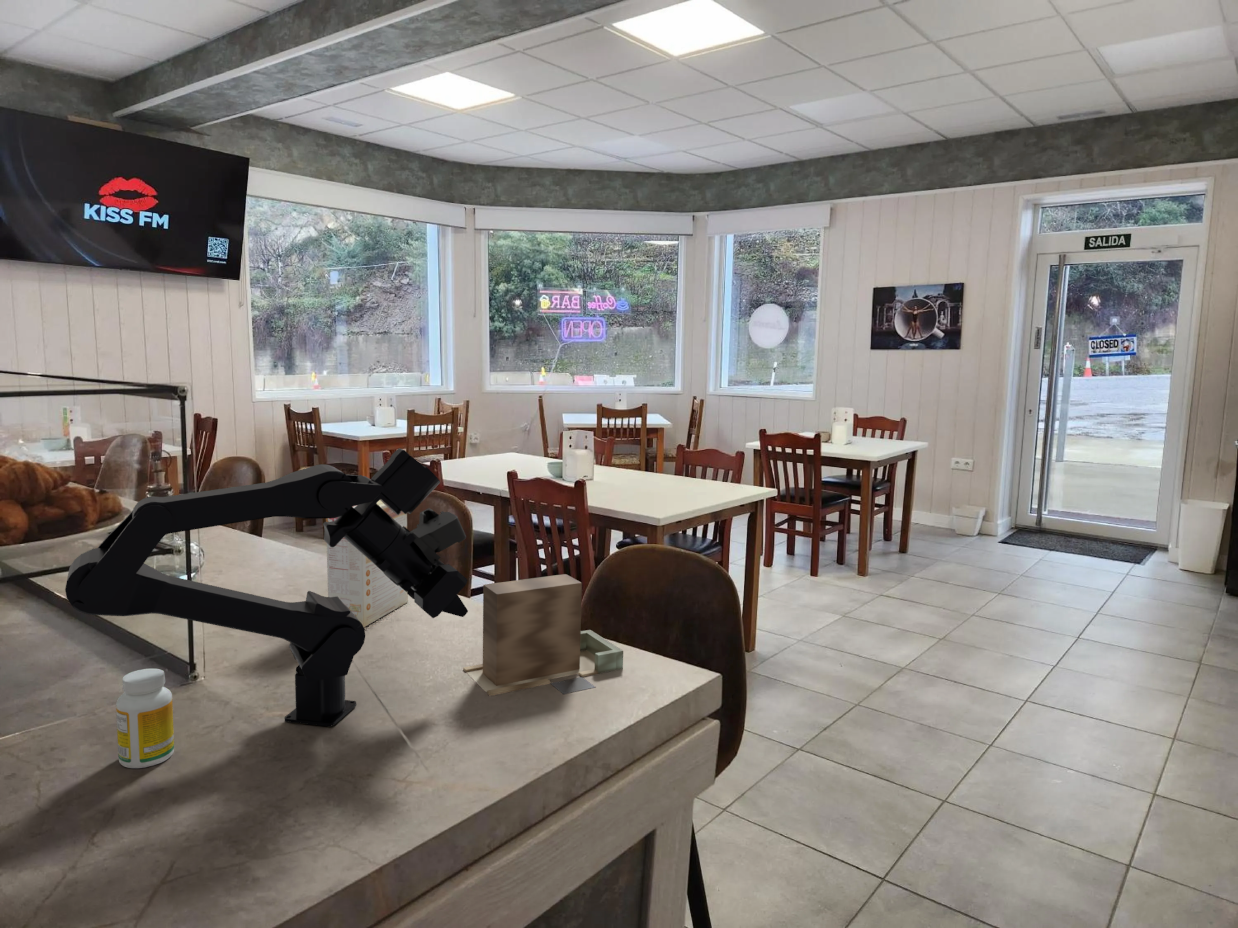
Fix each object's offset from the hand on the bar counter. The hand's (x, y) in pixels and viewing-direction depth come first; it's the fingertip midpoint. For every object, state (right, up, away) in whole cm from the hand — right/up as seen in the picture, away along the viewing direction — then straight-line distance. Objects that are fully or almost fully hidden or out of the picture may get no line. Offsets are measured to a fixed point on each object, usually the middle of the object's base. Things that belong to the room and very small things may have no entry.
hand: (464, 613), depth 110 cm
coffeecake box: (-22, -6, +31) cm, 38 cm away
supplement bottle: (-32, -13, -20) cm, 39 cm away
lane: (+10, -10, +7) cm, 16 cm away
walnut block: (+8, -10, +7) cm, 14 cm away
